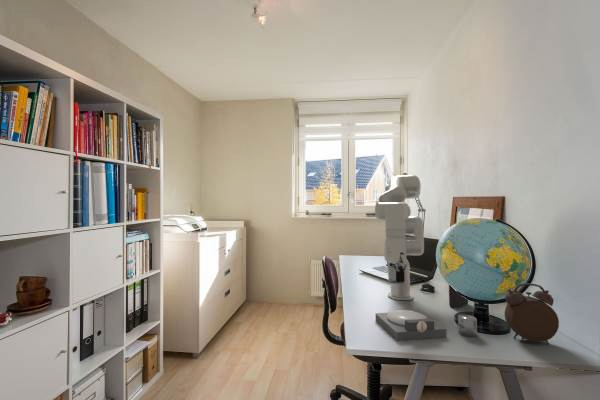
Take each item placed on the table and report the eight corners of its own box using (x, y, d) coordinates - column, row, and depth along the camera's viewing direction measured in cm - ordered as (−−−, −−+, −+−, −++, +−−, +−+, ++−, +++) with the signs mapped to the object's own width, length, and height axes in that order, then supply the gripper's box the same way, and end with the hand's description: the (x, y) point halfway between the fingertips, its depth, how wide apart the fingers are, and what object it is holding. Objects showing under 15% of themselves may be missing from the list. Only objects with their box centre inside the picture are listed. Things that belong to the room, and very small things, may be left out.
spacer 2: (454, 331, 111) (454, 315, 111) (469, 330, 112) (468, 314, 112) (465, 338, 105) (465, 321, 105) (481, 336, 106) (480, 320, 106)
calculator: (460, 302, 145) (459, 271, 145) (469, 304, 141) (468, 273, 141) (448, 306, 139) (447, 274, 139) (457, 309, 135) (456, 276, 135)
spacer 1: (385, 280, 118) (385, 265, 118) (399, 279, 119) (399, 264, 119) (392, 284, 112) (392, 268, 112) (407, 283, 113) (407, 267, 113)
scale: (375, 320, 122) (375, 305, 122) (418, 317, 125) (417, 303, 125) (397, 341, 103) (397, 323, 103) (447, 337, 105) (446, 320, 106)
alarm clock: (547, 338, 104) (546, 281, 105) (561, 348, 97) (559, 287, 98) (501, 335, 107) (500, 280, 108) (511, 344, 100) (510, 285, 100)
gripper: (377, 232, 124) (378, 275, 123) (396, 236, 107) (397, 286, 106) (394, 232, 125) (395, 274, 124) (415, 235, 108) (416, 285, 107)
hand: (396, 279), depth 115 cm, fingers closed on spacer 1, 6 cm apart
